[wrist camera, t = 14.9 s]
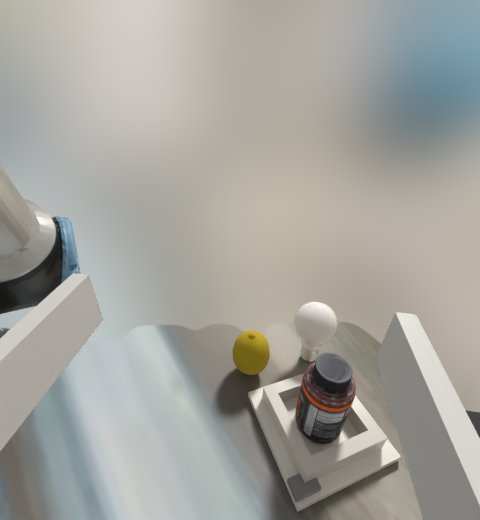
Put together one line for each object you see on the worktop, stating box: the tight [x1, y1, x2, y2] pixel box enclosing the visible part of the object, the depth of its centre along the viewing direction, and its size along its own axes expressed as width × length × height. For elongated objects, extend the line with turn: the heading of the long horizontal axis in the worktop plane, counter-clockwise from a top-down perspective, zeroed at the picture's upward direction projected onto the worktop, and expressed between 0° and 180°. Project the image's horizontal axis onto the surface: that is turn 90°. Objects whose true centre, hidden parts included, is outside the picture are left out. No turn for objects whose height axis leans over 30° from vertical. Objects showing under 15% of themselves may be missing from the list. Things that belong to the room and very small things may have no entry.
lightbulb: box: [294, 302, 338, 362], centre depth 45 cm, size 6×6×11 cm
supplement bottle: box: [295, 352, 356, 444], centre depth 35 cm, size 6×6×11 cm
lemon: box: [233, 331, 270, 375], centre depth 43 cm, size 6×6×8 cm
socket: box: [248, 373, 401, 512], centre depth 37 cm, size 14×14×4 cm
